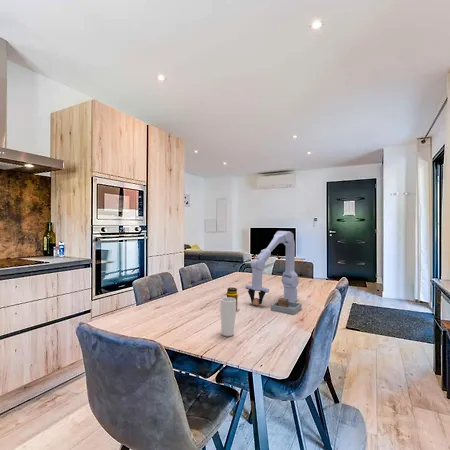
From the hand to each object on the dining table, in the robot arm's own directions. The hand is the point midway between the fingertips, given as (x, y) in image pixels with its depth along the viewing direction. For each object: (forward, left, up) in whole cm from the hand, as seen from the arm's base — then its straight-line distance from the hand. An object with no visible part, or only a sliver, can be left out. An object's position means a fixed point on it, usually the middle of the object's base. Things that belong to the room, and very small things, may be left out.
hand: (256, 303), depth 165 cm
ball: (0, 0, -1) cm, 1 cm away
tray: (-3, +17, -1) cm, 17 cm away
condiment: (+16, -8, -2) cm, 18 cm away
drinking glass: (+46, +9, -2) cm, 47 cm away
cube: (-5, +14, -1) cm, 15 cm away
